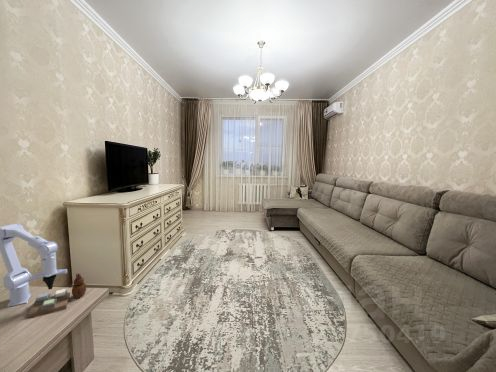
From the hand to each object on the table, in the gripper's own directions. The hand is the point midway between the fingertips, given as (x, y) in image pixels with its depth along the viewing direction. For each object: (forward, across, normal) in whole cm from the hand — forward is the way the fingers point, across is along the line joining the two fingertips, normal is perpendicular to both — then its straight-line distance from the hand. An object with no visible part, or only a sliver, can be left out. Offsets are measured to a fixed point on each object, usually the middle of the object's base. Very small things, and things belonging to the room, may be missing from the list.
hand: (50, 288), depth 122 cm
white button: (+6, +4, +2) cm, 7 cm away
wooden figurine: (+10, +12, +2) cm, 16 cm away
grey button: (+6, -4, +2) cm, 7 cm away
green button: (+7, 0, -5) cm, 9 cm away
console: (+9, 0, -2) cm, 10 cm away
